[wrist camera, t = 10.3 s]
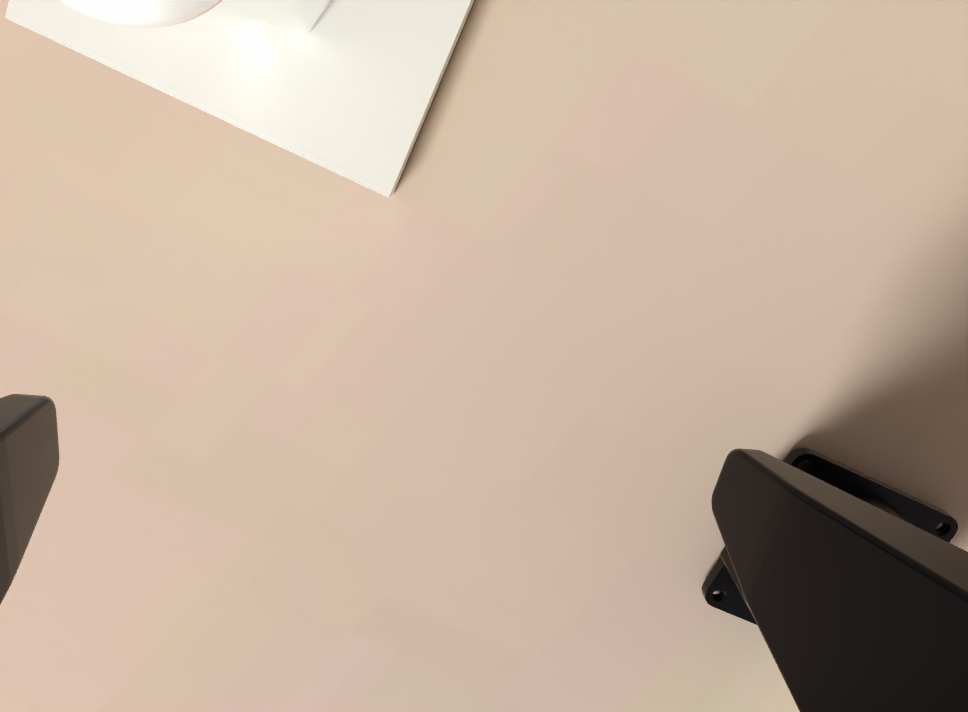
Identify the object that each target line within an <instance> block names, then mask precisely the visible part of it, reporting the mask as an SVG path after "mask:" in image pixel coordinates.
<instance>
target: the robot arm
mask: <svg viewBox="0 0 968 712" xmlns="http://www.w3.org/2000/svg"><path fill="white" fill-rule="evenodd" d="M805 460H808V464H807V465H806V466H805V467H804V468H801V469H799V468H798V466H799V464H800V463H801V462H802V461H805ZM58 466H59V445H58V431H57V418H56V408H55V405H54V402H53V401H52V399H50V398H49V397H46V396H37V395H24V394H11V395H8V396H5V397H3V398H0V604H1V602H2V600H3V599H4V597H5V595H6V593H7V591H8V589H9V587H10V585H11V583H12V581H13V579H14V576H15V574H16V572H17V570H18V567H19V565H20V563H21V560H22V558H23V555H24V553H25V551H26V548H27V546H28V543H29V541H30V538H31V536H32V533H33V531H34V529H35V526H36V524H37V521H38V519H39V516H40V514H41V512H42V509H43V507H44V504H45V502H46V499H47V497H48V495H49V492H50V490H51V487H52V485H53V482H54V480H55V477H56V475H57V471H58ZM712 510H713V514H714V516H715V519H716V522H717V525H718V527H719V530H720V533H721V535H722V538H723V541H724V543H725V547H724V549H723V550H722V552H721V558H720V559H719V561H718V562H717V564H716V565H715V567H714V568H713V570H712V571H711V573H710V574H709V576H708V577H707V579H706V580H705V582H704V583H703V586H702V593H703V595H704V597H705V599H706V601H707V603H708V604H709V605H711V606H713V607H715V608H718V609H720V610H722V611H725V612H727V613H730V614H732V615H735V616H737V617H739V618H742V619H744V620H747V621H749V622H751V623H754V624H756V625H758V627H759V629H760V631H761V633H762V635H763V637H764V639H765V641H766V643H767V645H768V647H769V649H770V651H771V654H772V656H773V658H774V660H775V662H776V664H777V666H778V668H779V670H780V672H781V674H782V676H783V678H784V680H785V682H786V684H787V686H788V688H789V690H790V692H791V694H792V697H793V699H794V701H795V703H796V705H797V707H798V709H799V711H800V712H968V552H966V551H964V550H962V549H960V548H958V547H956V546H954V545H952V544H950V543H949V542H950V540H951V539H952V538H953V537H954V535H955V534H956V532H957V530H958V524H957V522H956V520H955V519H953V518H952V517H951V516H950V515H949V514H947V513H946V512H945V511H943V510H941V509H938V508H936V507H934V506H932V505H930V504H927V503H925V502H923V501H921V500H919V499H916V498H914V497H912V496H910V495H908V494H905V493H903V492H901V491H899V490H897V489H895V488H892V487H890V486H888V485H886V484H884V483H881V482H879V481H877V480H875V479H873V478H870V477H868V476H866V475H864V474H862V473H860V472H857V471H855V470H853V469H851V468H849V467H846V466H844V465H842V464H840V463H838V462H835V461H833V460H831V459H829V458H827V457H825V456H822V455H820V454H818V453H816V452H814V451H811V450H809V449H805V448H800V449H796V450H794V451H792V452H791V453H790V454H789V455H788V457H787V458H786V460H785V461H784V462H783V461H781V460H779V459H777V458H775V457H773V456H771V455H769V454H767V453H765V452H762V451H760V450H752V449H734V450H733V451H731V452H730V453H729V454H728V456H727V458H726V460H725V463H724V465H723V468H722V470H721V473H720V476H719V478H718V481H717V484H716V486H715V489H714V491H713V495H712ZM940 523H943V524H942V526H941V527H940V528H938V529H936V527H937V526H938V525H939V524H940ZM718 589H722V591H721V592H720V593H718V594H713V592H714V591H715V590H718Z"/></svg>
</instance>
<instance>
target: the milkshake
mask: <svg viewBox="0 0 968 712" xmlns="http://www.w3.org/2000/svg"><path fill="white" fill-rule="evenodd" d="M59 1H61V2H62V3H64V4H66V5H68V6H69V7H71V8H73V9H75V10H77V11H79V12H81V13H83V14H85V15H87V16H90V17H92V18H94V19H97V20H100V21H102V22H106V23H109V24H113V25H117V26H123V27H131V28H154V29H167V30H181V31H193V32H201V33H207V34H213V35H219V36H226V37H232V38H239V39H245V40H252V41H259V42H265V43H274V42H278V41H281V40H285V39H289V38H293V37H297V36H301V35H305V34H308V33H309V32H310V30H311V29H312V28H313V26H314V25H315V23H316V22H317V21H318V19H319V18H320V16H321V15H322V14H323V12H324V11H325V10H326V8H327V7H328V5H329V4H330V3H331V0H59Z"/></svg>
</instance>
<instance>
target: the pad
mask: <svg viewBox="0 0 968 712" xmlns="http://www.w3.org/2000/svg"><path fill="white" fill-rule="evenodd" d="M473 2H474V0H331V3H330V4H329V5H328V7H327V8H326V10H325V11H324V12H323V14H322V15H321V16H320V18H319V19H318V21H317V22H316V23H315V25H314V26H313V28H312V29H311V30H310V32H309V33H308V34H305V35H301V36H297V37H293V38H289V39H285V40H281V41H278V42H274V43H265V42H259V41H252V40H245V39H239V38H232V37H226V36H219V35H213V34H207V33H201V32H193V31H181V30H167V29H154V28H131V27H123V26H117V25H113V24H109V23H106V22H102V21H100V20H97V19H94V18H92V17H90V16H87V15H85V14H83V13H81V12H79V11H77V10H75V9H73V8H71V7H69V6H68V5H66V4H64V3H62V2H61V1H59V0H9V4H8V8H7V12H6V16H5V18H6V19H8V20H11V21H13V22H15V23H17V24H19V25H21V26H23V27H26V28H28V29H30V30H32V31H34V32H36V33H38V34H40V35H43V36H45V37H47V38H49V39H51V40H53V41H55V42H58V43H60V44H62V45H64V46H66V47H68V48H70V49H72V50H75V51H77V52H79V53H81V54H83V55H85V56H87V57H89V58H92V59H94V60H96V61H98V62H100V63H102V64H104V65H107V66H109V67H111V68H113V69H115V70H117V71H119V72H121V73H124V74H126V75H128V76H130V77H132V78H134V79H136V80H139V81H141V82H143V83H145V84H147V85H149V86H151V87H153V88H156V89H158V90H160V91H162V92H164V93H166V94H168V95H171V96H173V97H175V98H177V99H179V100H181V101H183V102H185V103H188V104H190V105H192V106H194V107H196V108H198V109H200V110H203V111H205V112H207V113H209V114H211V115H213V116H215V117H217V118H220V119H222V120H224V121H226V122H228V123H230V124H232V125H235V126H237V127H239V128H241V129H243V130H245V131H247V132H249V133H252V134H254V135H256V136H258V137H260V138H262V139H264V140H267V141H269V142H271V143H273V144H275V145H277V146H279V147H281V148H284V149H286V150H288V151H290V152H292V153H294V154H296V155H299V156H301V157H303V158H305V159H307V160H309V161H311V162H313V163H316V164H318V165H320V166H322V167H324V168H326V169H328V170H330V171H333V172H335V173H337V174H339V175H341V176H343V177H345V178H348V179H350V180H352V181H354V182H356V183H358V184H360V185H362V186H365V187H367V188H369V189H371V190H373V191H375V192H377V193H380V194H382V195H384V196H386V197H388V198H389V197H390V196H392V195H393V194H394V191H395V189H396V186H397V184H398V182H399V179H400V177H401V174H402V172H403V170H404V167H405V165H406V163H407V160H408V158H409V155H410V153H411V151H412V148H413V146H414V143H415V141H416V139H417V136H418V134H419V131H420V129H421V127H422V124H423V122H424V120H425V117H426V115H427V112H428V110H429V108H430V105H431V103H432V100H433V98H434V96H435V93H436V91H437V88H438V86H439V84H440V81H441V79H442V76H443V74H444V72H445V69H446V67H447V65H448V62H449V60H450V57H451V55H452V53H453V50H454V48H455V45H456V43H457V41H458V38H459V36H460V33H461V31H462V29H463V26H464V24H465V22H466V19H467V17H468V14H469V12H470V10H471V7H472V5H473Z"/></svg>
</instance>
